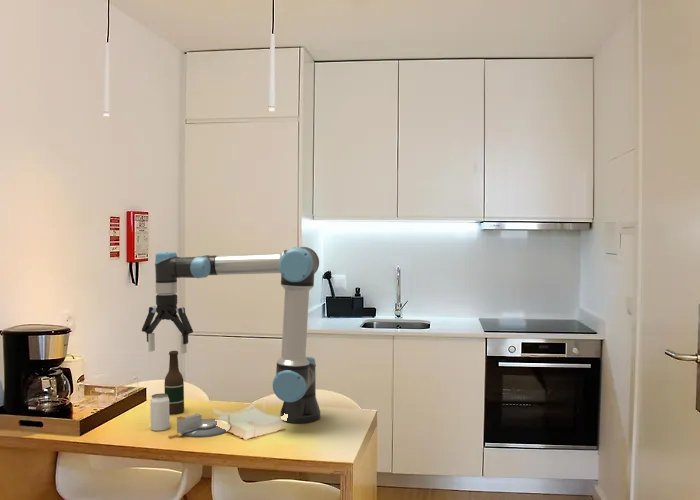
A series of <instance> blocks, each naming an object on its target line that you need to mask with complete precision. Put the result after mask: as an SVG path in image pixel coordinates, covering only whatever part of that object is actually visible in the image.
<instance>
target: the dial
mask: <svg viewBox="0 0 700 500" xmlns="http://www.w3.org/2000/svg"><path fill="white" fill-rule="evenodd" d="M202 416H203V415H202V414H201V413H193V414H190V415H187V416H177V417H176V434H181V435H182V434H183V433H187V432H190V431H193V430H197V429H209V428H213V427H215V426H216V425H217V421H215V420H210V419H211V418H205V419H206V420H202Z"/></svg>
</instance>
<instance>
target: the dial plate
mask: <svg viewBox="0 0 700 500" xmlns="http://www.w3.org/2000/svg"><path fill="white" fill-rule="evenodd" d="M206 419H207V418H204V419H202V420H206ZM209 419H210V420H215V419H216V418H209ZM225 432H226V430H225V429H222V428H220V427H218V426H215V427H213V428H209V429H197V430H193V431H190V432H187V433H183V434H181V436H184V437H187V438H210V437H211V438H212V437H216V436H220V435H224V434H226V433H227V432H226V433H225Z"/></svg>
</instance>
